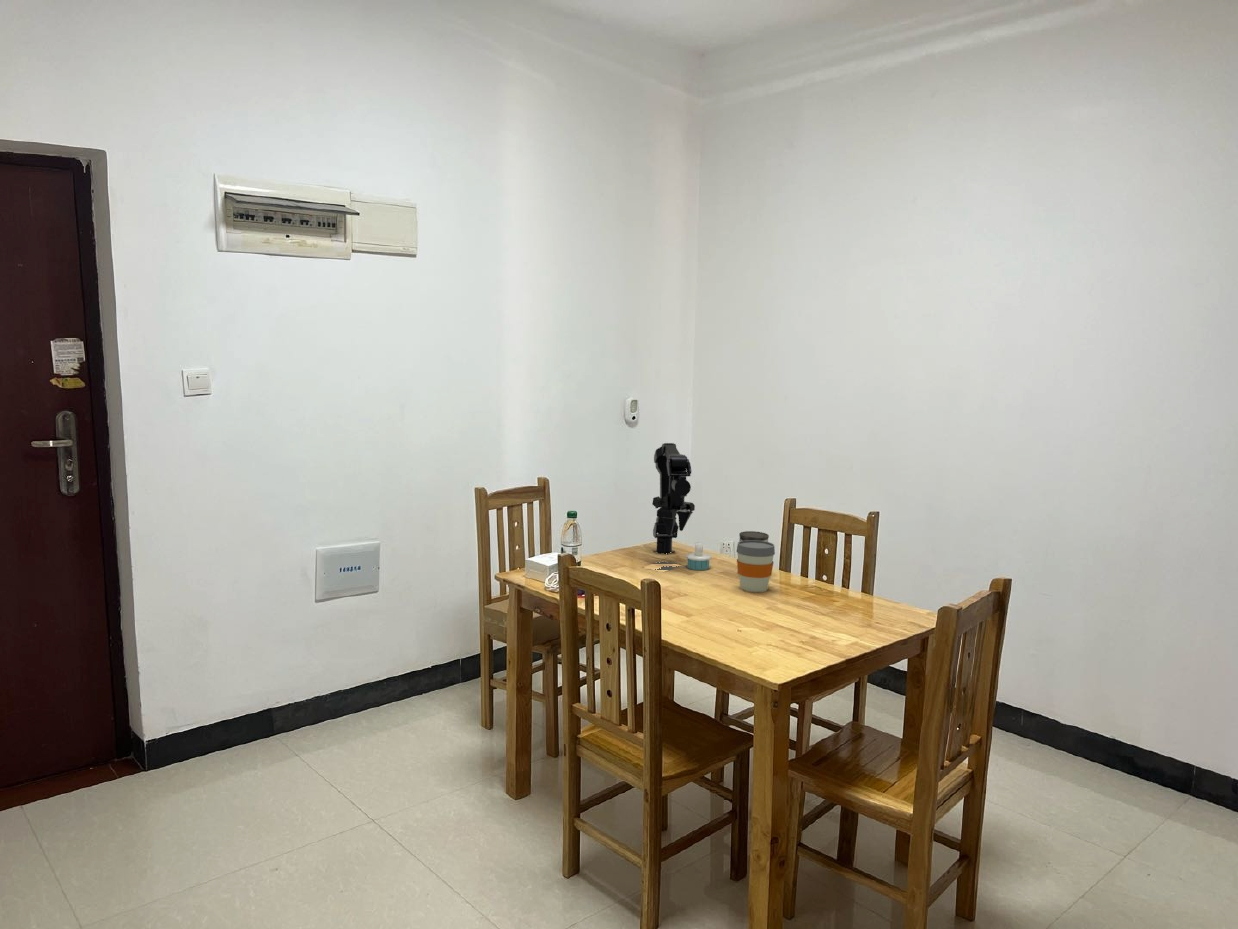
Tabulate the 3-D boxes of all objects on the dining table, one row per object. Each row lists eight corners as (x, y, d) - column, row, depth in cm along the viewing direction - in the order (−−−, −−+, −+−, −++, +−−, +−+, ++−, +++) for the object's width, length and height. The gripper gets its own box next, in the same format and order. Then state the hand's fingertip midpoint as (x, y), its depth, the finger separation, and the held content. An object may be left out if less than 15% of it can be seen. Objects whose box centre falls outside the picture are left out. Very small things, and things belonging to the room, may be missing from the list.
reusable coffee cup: (771, 584, 291) (773, 541, 289) (774, 594, 279) (776, 549, 277) (734, 582, 293) (736, 539, 291) (735, 592, 280) (737, 547, 278)
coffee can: (748, 578, 299) (749, 538, 297) (732, 570, 308) (733, 532, 306) (772, 575, 303) (774, 536, 301) (756, 568, 312) (758, 530, 311)
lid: (693, 553, 315) (694, 539, 315) (715, 557, 310) (716, 543, 310) (681, 558, 308) (682, 543, 307) (703, 562, 303) (704, 547, 302)
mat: (660, 561, 319) (660, 560, 318) (683, 565, 313) (683, 564, 313) (639, 568, 307) (639, 567, 307) (663, 573, 301) (663, 572, 301)
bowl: (693, 564, 315) (694, 554, 315) (712, 568, 311) (713, 557, 310) (683, 568, 309) (683, 558, 308) (702, 572, 304) (702, 561, 304)
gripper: (669, 484, 321) (667, 525, 323) (644, 491, 305) (642, 534, 307) (696, 488, 315) (694, 529, 317) (672, 495, 299) (670, 539, 302)
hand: (675, 532), depth 311 cm, fingers open, 9 cm apart
